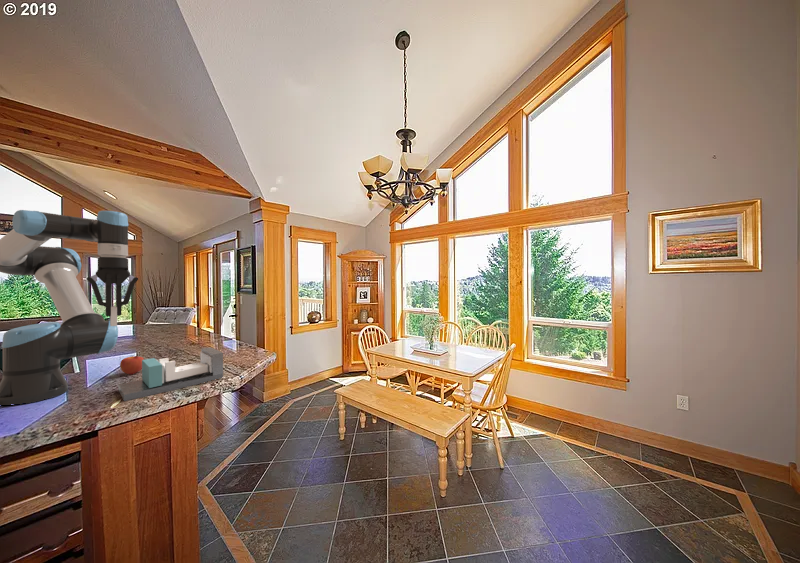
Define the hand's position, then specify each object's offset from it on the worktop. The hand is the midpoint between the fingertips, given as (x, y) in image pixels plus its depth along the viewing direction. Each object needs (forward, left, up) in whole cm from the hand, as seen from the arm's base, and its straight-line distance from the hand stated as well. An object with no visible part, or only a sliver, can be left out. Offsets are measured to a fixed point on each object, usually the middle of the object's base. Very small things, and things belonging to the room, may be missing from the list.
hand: (113, 325), depth 101 cm
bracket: (+9, +18, -21) cm, 29 cm away
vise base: (+8, +15, -22) cm, 28 cm away
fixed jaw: (+8, +27, -20) cm, 35 cm away
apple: (-19, +7, -23) cm, 30 cm away
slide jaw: (+8, +9, -20) cm, 24 cm away
